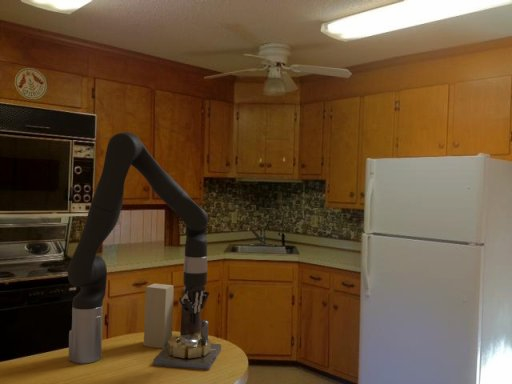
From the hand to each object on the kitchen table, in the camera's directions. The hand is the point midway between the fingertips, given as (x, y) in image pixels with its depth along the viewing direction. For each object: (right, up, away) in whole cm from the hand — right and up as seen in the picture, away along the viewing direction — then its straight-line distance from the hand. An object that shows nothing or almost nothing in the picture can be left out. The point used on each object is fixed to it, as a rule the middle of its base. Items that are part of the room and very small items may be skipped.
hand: (193, 323), depth 150 cm
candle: (-4, -13, +22) cm, 26 cm away
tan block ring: (-2, -10, +5) cm, 12 cm away
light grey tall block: (-15, -12, +17) cm, 26 cm away
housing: (-2, -13, +6) cm, 14 cm away
